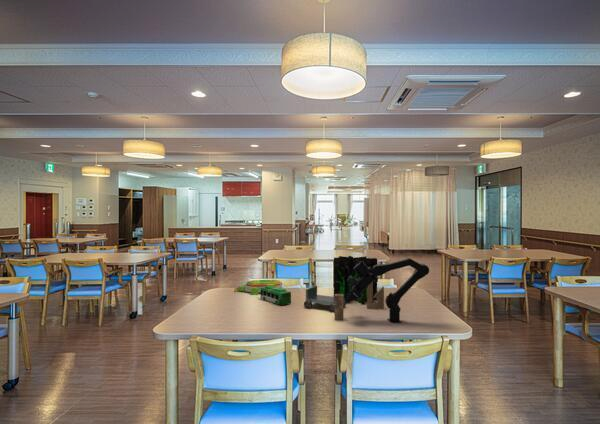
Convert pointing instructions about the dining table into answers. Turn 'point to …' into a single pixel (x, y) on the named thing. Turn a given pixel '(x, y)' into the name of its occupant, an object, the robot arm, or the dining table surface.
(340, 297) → the brown rectangular pillar
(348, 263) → the decorative plant
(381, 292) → the wooden block
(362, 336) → the dining table surface
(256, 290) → the green piece
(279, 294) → the toy bus
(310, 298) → the trolley
